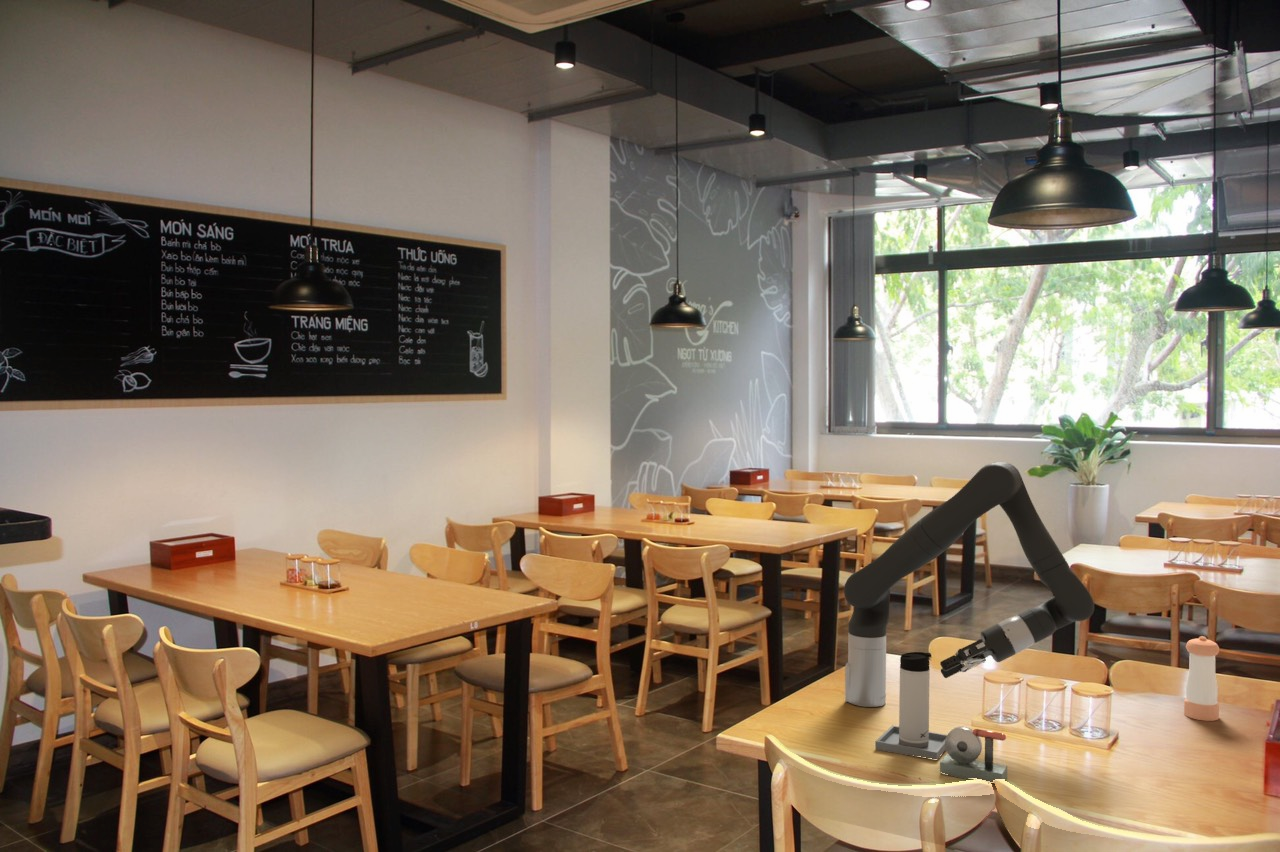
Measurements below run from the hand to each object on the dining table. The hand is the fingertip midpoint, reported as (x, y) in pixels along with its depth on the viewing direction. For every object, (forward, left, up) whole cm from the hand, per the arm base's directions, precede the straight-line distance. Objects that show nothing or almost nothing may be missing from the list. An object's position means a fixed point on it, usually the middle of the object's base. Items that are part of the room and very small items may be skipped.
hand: (942, 670), depth 224 cm
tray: (-3, -10, -15) cm, 18 cm away
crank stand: (+12, -21, -15) cm, 28 cm away
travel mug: (-3, -10, -14) cm, 18 cm away
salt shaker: (+50, +46, -15) cm, 69 cm away
